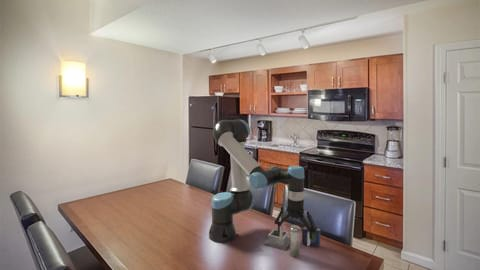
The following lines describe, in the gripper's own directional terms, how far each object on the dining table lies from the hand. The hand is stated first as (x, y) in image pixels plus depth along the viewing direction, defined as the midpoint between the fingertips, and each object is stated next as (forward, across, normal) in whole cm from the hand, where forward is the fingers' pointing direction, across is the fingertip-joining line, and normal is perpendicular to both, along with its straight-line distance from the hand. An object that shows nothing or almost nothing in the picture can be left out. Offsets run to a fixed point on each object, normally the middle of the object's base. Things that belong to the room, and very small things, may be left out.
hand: (294, 241), depth 127 cm
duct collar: (+7, -11, +8) cm, 15 cm away
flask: (+7, +5, +13) cm, 16 cm away
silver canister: (+7, 0, 0) cm, 7 cm away
